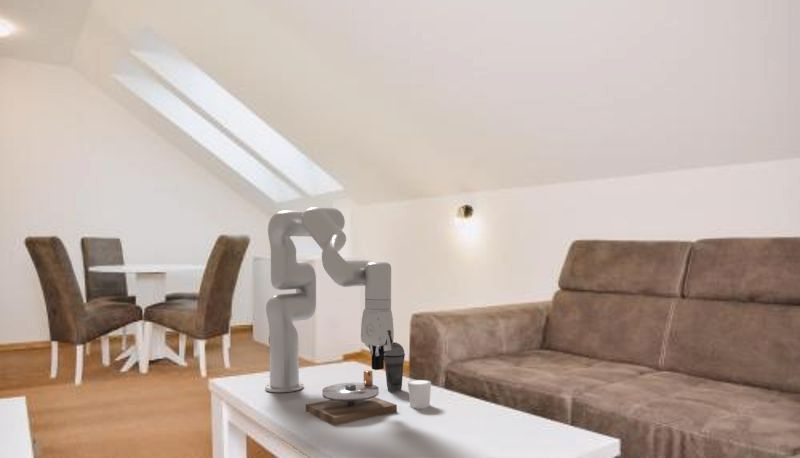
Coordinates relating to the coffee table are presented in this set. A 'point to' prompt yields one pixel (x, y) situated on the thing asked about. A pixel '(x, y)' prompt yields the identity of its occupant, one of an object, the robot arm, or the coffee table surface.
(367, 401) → the wheel base
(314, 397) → the coffee table surface
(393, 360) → the beverage cup
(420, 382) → the white faceted cup
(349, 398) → the handwheel
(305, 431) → the coffee table surface
